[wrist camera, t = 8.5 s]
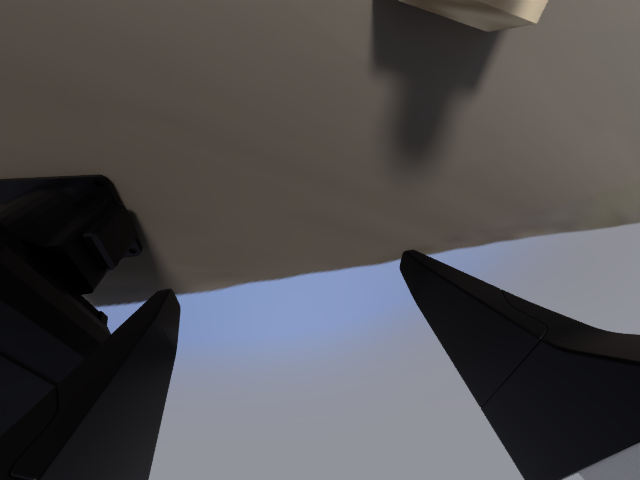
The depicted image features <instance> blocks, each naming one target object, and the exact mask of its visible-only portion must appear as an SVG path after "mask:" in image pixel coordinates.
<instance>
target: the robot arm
mask: <svg viewBox="0 0 640 480" xmlns="http://www.w3.org/2000/svg"><path fill="white" fill-rule="evenodd" d="M97 180H98V181H101V182H102V183H103V185H104V186H103V185H100V184H98V182H97ZM137 235H138V233H137V231H136V229H135V227H134V225H133V223H132V221H131V219H130V216H129V214H128V212H127V210H126V208H125V206H124V205H122V204H121V203H120V201H119V199H118V197H117V194H116V192H115V190H114V188H113V186H112V184H111V182H110V180H109V179H108V178H107V177H105V176H103V175H80V176H58V177H37V178H16V179H0V480H148V479H149V474H150V470H151V465H152V461H153V456H154V451H155V447H156V443H157V438H158V434H159V429H160V424H161V420H162V415H163V411H164V406H165V402H166V397H167V392H168V388H169V384H170V379H171V374H172V370H173V366H174V361H175V356H176V350H177V342H178V331H179V321H180V304H179V302H178V300H177V298H176V296H175V294H174V292H173V290H172V289H166V290H160V291H157V292H156V293H155V294H154V295H153V296H152V297H151V298H150V299H149V300H147V301H146V302H145V303H144V304H143V305H142V306H141V307H140V308H139V309H138V310H137V311H136V312H135V313H134V314H132V315H131V316H130V317H129V318H128V319H127V320H126V321H125V322H124V323H123V324H122V325H121V326H120V327H119V328H117V329H116V330H115V331H114V332H113V333H112V334H110V331H109V329H108V327H107V320H108V317H107V316H106V315H105V314H104V313H103V312H102V311H98V310H97V309H96V308H95V307H93V306H92V305H91V304H90V303H89V302H88V301H87V300H86V299H85V298H84V297H82V296H81V295H83V294H90V293H92V292H93V291H94V290H95V288H96V287H97V285H98V284H99V283H100V281H101V280H102V278H103V277H104V275H105V274H106V273H107V271H108V270H113V269H114V268H115V267H116V266H117V264H118V263H119V262H120V260H121V259H122V257H131V256H137V255H139V254H140V253H141V251H142V247H141V245H140V243H139V240H138V238H137ZM131 248H134V249H136V251H134V250H132V249H131ZM400 271H401V273H402V275H403V278H404V280H405V282H406V284H407V286H408V288H409V290H410V292H411V294H412V296H413V298H414V300H415V302H416V304H417V305H418V307H419V309H420V310H421V312H422V313H423V315H424V317H425V318H426V320H427V322H428V323H429V325H430V326H431V328H432V330H433V331H434V333H435V335H436V336H437V338H438V340H439V341H440V342H441V344H442V346H443V348H444V349H445V351H446V353H447V354H448V356H449V357H450V359H451V361H452V362H453V364H454V366H455V367H456V368H457V370H458V372H459V374H460V375H461V377H462V378H463V380H464V382H465V383H466V385H467V386H468V388H469V390H470V392H471V393H472V395H473V396H474V398H475V400H476V401H477V403H478V405H479V406H480V407H481V410H482V411H483V413H484V414H485V416H486V418H487V419H488V421H489V422H490V424H491V426H492V428H493V429H494V431H495V432H496V434H497V436H498V437H499V439H500V440H501V442H502V444H503V445H504V447H505V449H506V450H507V452H508V453H509V455H510V457H511V458H512V460H513V462H514V463H515V465H516V466H517V468H518V470H519V471H520V473H521V475H522V476H523V478H524V479H525V480H563V479H565V478H567V477H569V476H572V475H574V474H576V473H579V474H580V475H581V476H582V478H583V479H584V480H640V335H634V334H622V333H615V332H610V331H605V330H602V329H598V328H595V327H592V326H589V325H587V324H584V323H582V322H579V321H577V320H574V319H572V318H569V317H566V316H564V315H561V314H559V313H556V312H554V311H551V310H549V309H546V308H544V307H541V306H539V305H536V304H534V303H531V302H528V301H526V300H524V299H522V298H520V297H517V296H515V295H513V294H510V293H508V292H506V291H504V290H500V289H499V288H497V287H495V286H493V285H491V284H488V283H486V282H484V281H482V280H480V279H477V278H475V277H473V276H470V275H469V274H466V273H464V272H462V271H460V270H457V269H455V268H453V267H451V266H449V265H446V264H444V263H442V262H440V261H437V260H435V259H433V258H431V257H429V256H426V255H424V254H422V253H420V252H418V251H415V250H407V251H404V252H403V254H402V258H401V263H400Z"/></svg>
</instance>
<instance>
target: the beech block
mask: <svg viewBox="0 0 640 480" xmlns="http://www.w3.org/2000/svg"><path fill="white" fill-rule="evenodd" d="M398 1H400V2H403V3H406V4H409V5H412V6H415V7H418V8H420V9H423V10H426V11H429V12H432V13H435V14H438V15H440V16H443V17H446V18H449V19H452V20H455V21H457V22H460V23H463V24H466V25H469V26H472V27H475V28H477V29H480V30H483V31H486V32H491V31H497V30H503V29H509V28H515V27H521V26H527V25H533V24H537V22H538V20H539V18H540V16H541V14H542V12H543V10H544V8H545V6H546V4H547V2H548V0H398Z"/></svg>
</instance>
